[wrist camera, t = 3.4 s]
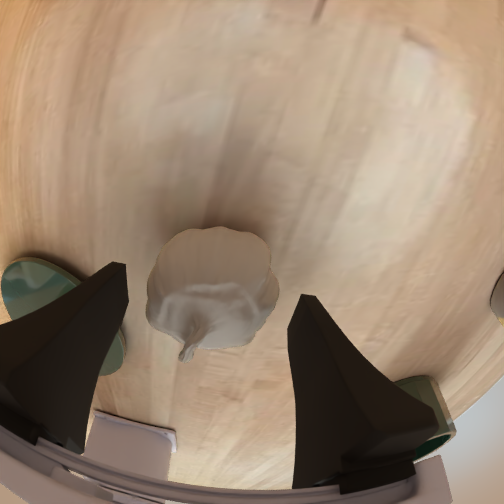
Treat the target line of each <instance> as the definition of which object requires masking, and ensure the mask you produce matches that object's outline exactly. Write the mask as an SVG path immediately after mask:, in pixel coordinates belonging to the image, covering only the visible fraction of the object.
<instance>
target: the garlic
mask: <svg viewBox="0 0 504 504" xmlns="http://www.w3.org/2000/svg"><path fill="white" fill-rule="evenodd" d="M270 263H271V252H270V249H269V247H268V245H267V244H266V243H265V241H264V240H262V239H261V238H260V237H258V236H256V235H255V234H253V233H251V232H239V231H236V230H232V229H228V228H226V227H223V226H218V227H213V228H208V229H203V230H201V229H195V228H192V229H187V230H185V231H183V232H180V233H178V234H177V235H175V236H174V237H173V238H172V239H171V240H170V241H169V242H167V243H166V244H165V245H164V246H163V248H162V249H161V251H160V253H159V255H158V257H157V260H156V264H155V266H154V267H153V269H152V271H151V273H150V275H149V278H148V282H147V296H148V300H147V304H146V317H147V320H148V322H149V324H150V325H151V326H152V327H153V328H155V329H156V330H159V331H161V332H164V333H166V334H168V335H170V336H172V337H173V338H174V339H176V340H177V341H178V342H180V343H183V344H185V345H184V349H183V350H182V351H181V352H180V354H179V357H178V358H179V360H180V361H181V362H183V363H188V362H189V361H190V360H191V359H192V358H193V355H194V349H196V348H201V349H206V350H214V349H225V348H229V347H239V346H244V345H247V344H248V343H250V342H251V341H252V340H253V338H254V336H255V334H256V331H258V330H259V329H261V327H262V326H263V325H264V323H265V321H266V319H267V317H268V316H269V315H270V313H271V312H272V311H273V309H274V308H275V305H276V302H277V300H278V297H279V283H278V280H277V278H276V277H275V275H274V274H273V273H272V271H271V269H270Z"/></svg>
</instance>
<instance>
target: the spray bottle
mask: <svg viewBox="0 0 504 504" xmlns="http://www.w3.org/2000/svg"><path fill="white" fill-rule="evenodd" d="M491 308H492V311H493V312H494V314H495V315H496V317H497V318H498V320H499V321H500V323H501V324H502V325H503V327H504V273H503V275H502V276H501V278H500V279H499V281H498V283H497V285H496V287H495V289H494V291H493V294H492V297H491Z"/></svg>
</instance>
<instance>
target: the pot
mask: <svg viewBox="0 0 504 504" xmlns="http://www.w3.org/2000/svg"><path fill="white" fill-rule="evenodd" d="M394 384H396V385H397V386H398V387H400V388H401V389H402V390H404V391H405V392H407V393H408V394H410V395H411V396H413V397H414V398H416V399H418V400H420V401H421V402H423V403H425V404H427V405H429V406H430V407H432V408H433V409H434V412H435V415H436V417H437V420H438V423H439V426H440V427H439V430H438V432H437V433H436V434H435V435H434V436H432V437H431V438H430V439H429V440H427V441H426V442H424V443H423V444H421V445H420V446H418V447H417V448H415V451H416V457H415V458H412V459H413V462H415V461H417V460H419V459H421V458H423V457H425V456H427V455H429V454H430V453H432V452H434V451H436V450H437V449H439V448H440V447H442V446H443V445H445V444H446V443H447V442H449V441H450V440H451V439H452V438H453V437H454V436H455V435H456V429H455V425H454V423H453V420H452V418H451V415H450V413H449V410H448V408H447V405H446V403H445V400H444V398H443V396H442V393H441V391H440V389H439V387H438V384H437V383H436V382H435V380H434V379H433V378H432V377H429V376H416V377H411V378H407V379H403V380H400V381H397V382H395V383H394Z"/></svg>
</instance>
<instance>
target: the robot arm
mask: <svg viewBox="0 0 504 504" xmlns="http://www.w3.org/2000/svg"><path fill="white" fill-rule="evenodd" d="M128 303H129V298H128V288H127V275H126V264H123V263H118V262H111V263H109V264H108V265H106V266H105V267H103V268H102V269H100V270H99V271H98V272H96V273H95V274H93V275H92V276H90V277H89V278H88V279H86V280H85V281H83V282H82V283H80V284H79V285H78V286H76V287H75V288H73V289H71V290H70V291H68V292H67V293H65V294H64V295H62V296H61V297H59V298H57V299H56V300H54V301H52V302H51V303H49V304H47V305H45V306H43V307H41V308H39V309H38V310H36V311H33V312H31V313H29V314H27V315H24V316H22V317H20V318H18V319H15V320H13V321H10V322H7V323H4V324H1V325H0V483H1V484H2V485H4V486H5V487H6V488H8V489H9V490H11V491H12V492H13V493H15V494H16V495H17V496H19V497H20V498H22V499H23V500H25V501H26V502H28V503H29V504H165V500H170V501H176V502H182V503H188V504H450V503H451V502H452V496H451V493H450V488H449V484H448V480H447V476H446V473H445V469H444V465H443V462H442V459H441V456H440V455H437V456H434V457H432V458H428V459H425V460H423V461H420V462H417V463H415V464H414V463H413V459H412V458H415V457H416V451H415V448H417V447H418V446H420V445H421V444H423V443H424V442H426V441H427V440H429V439H430V438H431V437H432V436H434V435H435V434H436V433H437V432H438V430H439V427H440V426H439V423H438V420H437V417H436V415H435V412H434V409H433V408H432V407H430V406H429V405H427V404H425V403H423V402H421V401H420V400H418V399H416V398H414V397H413V396H411V395H410V394H408V393H407V392H405V391H404V390H402V389H401V388H400V387H398V386H397V385H396V384H394V383H393V382H392V381H390V380H389V379H388V378H387V377H386V376H384V375H383V374H382V373H381V372H380V371H378V370H377V369H376V368H375V367H374V366H373V365H372V364H371V363H370V362H369V361H368V360H367V359H366V358H365V357H364V356H363V355H362V354H361V353H360V352H359V351H358V350H357V349H356V347H355V346H354V345H353V344H352V343H351V342H350V340H349V339H348V338H347V337H346V336H345V334H344V333H343V332H342V331H341V329H340V328H339V327H338V325H337V324H336V323H335V321H334V320H333V319H332V317H331V316H330V315H329V313H328V312H327V311H326V309H325V308H324V307H323V305H322V304H321V303H320V301H319V300H318V299H317V297H316V296H313V295H306V294H301V296H300V299H299V301H298V304H297V306H296V309H295V311H294V314H293V316H292V319H291V321H290V323H289V326H288V328H287V335H288V354H289V361H290V368H291V374H292V381H293V387H294V394H295V405H296V446H295V464H294V475H293V484H292V489H287V490H242V489H225V488H214V487H205V486H197V485H190V484H183V483H177V482H172V481H168V473H169V466H170V458H171V452H173V453H176V452H177V445H176V433H175V432H174V431H172V430H167V429H163V428H158V427H153V426H149V425H145V424H141V423H137V422H133V421H129V420H126V419H122V418H119V417H115V416H112V415H109V414H105V413H102V412H99V411H96V410H95V411H94V415H95V417H94V420H93V423H92V427H91V430H90V433H89V436H88V440H87V443H86V447H85V439H86V431H87V424H88V418H89V413H90V407H91V403H92V399H93V395H94V390H95V387H96V383H97V380H98V376H99V373H100V370H101V367H102V365H103V362H104V360H105V358H106V356H107V353H108V351H109V349H110V347H111V345H112V343H113V340H114V338H115V336H116V334H117V332H118V330H119V328H120V326H121V323H122V321H123V318H124V315H125V312H126V309H127V306H128ZM83 453H84V454H83ZM81 454H83V456H81ZM68 469H69V470H71V471H74V472H76V473H78V474H81V475H83V477H84V479H83V478H80V477H78V476H76V475H74V474H72V473H70V471H69V470H68Z"/></svg>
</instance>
